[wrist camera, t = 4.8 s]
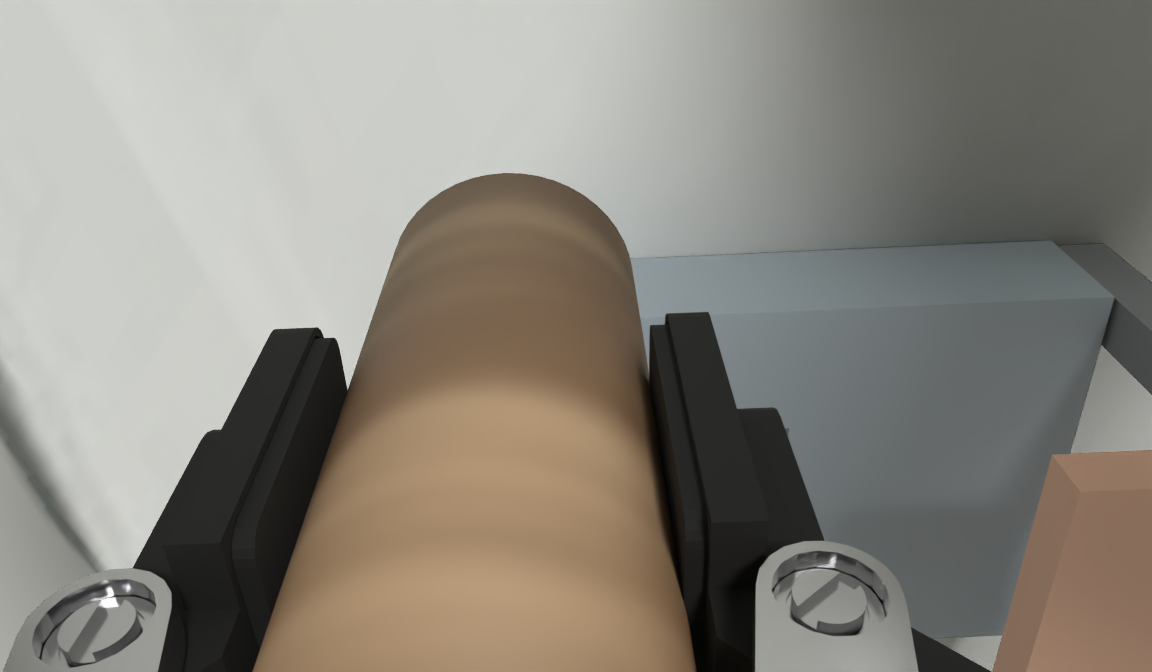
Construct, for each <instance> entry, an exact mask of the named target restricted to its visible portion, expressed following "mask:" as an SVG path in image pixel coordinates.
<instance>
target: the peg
mask: <svg viewBox="0 0 1152 672" xmlns="http://www.w3.org/2000/svg"><path fill="white" fill-rule="evenodd" d="M252 672H697V670H696V664H695V658H694V652H693V645H692V639H691V633H690V627H689V621H688V617H687V613H686V609H685V605H684V601H683V595H682V588H681V582H680V575H679V569H678V563H677V556H676V550H675V544H674V537H673V531H672V524H671V518H670V512H669V505H668V499H667V493H666V486H665V480H664V474H663V467H662V461H661V454H660V448H659V442H658V435H657V429H656V423H655V416H654V410H653V403H652V397H651V391H650V384H649V370H648V364H647V357H646V351H645V345H644V339H643V332H642V326H641V320H640V314H639V307H638V301H637V295H636V288H635V282H634V276H633V270H632V265H631V261H630V256H629V253H628V251H627V248H626V245H625V243H624V240H623V239H622V237H621V235H620V233H619V232H618V230H617V228H616V227H615V225H614V224H613V223H612V221H611V220H610V219H609V218H608V216H607V215H606V214H605V213H604V212H603V211H602V210H601V209H600V208H599V207H598V206H597V205H596V204H594V203H593V202H592V201H590V200H589V199H588V198H586V197H585V196H584V195H582V194H581V193H579V192H577V191H575V190H574V189H572V188H570V187H568V186H566V185H563V184H561V183H558V182H556V181H553V180H550V179H546V178H543V177H539V176H533V175H527V174H514V173H502V174H492V175H485V176H481V177H476V178H472V179H469V180H466V181H464V182H461V183H458V184H456V185H454V186H452V187H450V188H448V189H446V190H444V191H442V192H441V193H439V194H438V195H437V196H435V197H434V198H432V199H431V200H430V201H428V202H427V203H426V204H425V205H424V206H423V207H422V208H421V209H420V210H419V211H418V212H417V213H416V214H415V216H414V217H413V218H412V219H411V221H410V222H409V223H408V225H407V226H406V228H405V230H404V232H403V233H402V235H401V237H400V240H399V242H398V245H397V247H396V250H395V253H394V256H393V259H392V262H391V265H390V268H389V271H388V273H387V276H386V279H385V282H384V285H383V288H382V291H381V294H380V297H379V300H378V303H377V306H376V309H375V312H374V315H373V318H372V321H371V324H370V327H369V329H368V332H367V335H366V338H365V341H364V344H363V347H362V350H361V353H360V356H359V359H358V362H357V365H356V368H355V371H354V374H353V377H352V380H351V382H350V385H349V388H348V391H347V394H346V397H345V400H344V403H343V406H342V409H341V412H340V415H339V418H338V421H337V424H336V427H335V430H334V433H333V436H332V438H331V441H330V444H329V447H328V450H327V453H326V456H325V459H324V462H323V465H322V468H321V471H320V474H319V477H318V480H317V483H316V486H315V489H314V491H313V494H312V497H311V500H310V503H309V506H308V509H307V512H306V515H305V518H304V521H303V524H302V527H301V530H300V533H299V536H298V539H297V542H296V545H295V547H294V550H293V553H292V556H291V559H290V562H289V565H288V568H287V571H286V574H285V577H284V580H283V583H282V586H281V589H280V592H279V595H278V598H277V601H276V603H275V606H274V609H273V612H272V615H271V618H270V621H269V624H268V627H267V630H266V633H265V636H264V639H263V642H262V645H261V648H260V651H259V654H258V656H257V659H256V662H255V665H254V668H253V671H252Z"/></svg>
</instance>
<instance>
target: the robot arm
mask: <svg viewBox="0 0 1152 672" xmlns="http://www.w3.org/2000/svg"><path fill="white" fill-rule="evenodd" d="M649 384H650V391H651V397H652V403H653V410H654V416H655V423H656V429H657V435H658V442H659V448H660V454H661V461H662V467H663V474H664V480H665V486H666V493H667V499H668V505H669V512H670V518H671V524H672V531H673V537H674V544H675V550H676V556H677V563H678V569H679V575H680V582H681V588H682V595H683V601H684V605H685V609H686V613H687V617H688V621H689V627H690V633H691V639H692V645H693V652H694V658H695V664H696V670H697V672H991V671H989V670H987V669H985V668H984V667H982V666H980V665H978V664H976V663H975V662H973V661H971V660H969V659H967V658H966V657H964V656H962V655H960V654H958V653H957V652H955V651H953V650H951V649H949V648H948V647H946V646H944V645H942V644H940V643H939V642H937V641H935V640H933V639H932V638H930V637H928V636H926V635H924V634H923V633H921V632H919V631H917V630H915V629H914V628H912V627H911V626H910V620H909V614H908V609H907V603H906V598H905V596H904V593H903V590H902V588H901V585H900V583H899V581H898V580H897V579H896V577H895V576H894V575H893V574H892V573H891V571H890V570H889V569H888V568H887V567H886V566H885V565H884V564H882V563H881V562H879V561H878V560H877V559H875V558H874V557H872V556H871V555H869V554H868V553H865V552H863V551H861V550H858V549H856V548H853V547H851V546H849V545H845V544H839V543H834V542H829V541H825V540H824V537H823V534H822V532H821V529H820V526H819V523H818V520H817V517H816V515H815V512H814V509H813V506H812V503H811V501H810V498H809V495H808V492H807V489H806V487H805V484H804V481H803V478H802V475H801V472H800V470H799V467H798V464H797V461H796V458H795V456H794V453H793V450H792V447H791V444H790V441H789V439H788V436H787V433H786V430H785V427H784V425H783V422H782V419H781V416H780V414H779V412H778V410H777V409H776V408H774V407H770V408H745V409H737V407H736V403H735V400H734V397H733V393H732V390H731V386H730V383H729V379H728V376H727V372H726V369H725V366H724V362H723V359H722V355H721V352H720V348H719V345H718V341H717V338H716V335H715V331H714V328H713V324H712V321H711V317H710V314H709V312H690V313H666V316H665V324H664V325H650V335H649ZM346 394H347V386H346V381H345V376H344V371H343V365H342V360H341V355H340V350H339V346H338V343H337V340H336V339H335V338H324V337H323V334H322V332H321V330H320V329H319V328H295V329H275V330H273V331H272V333H271V334H270V336H269V338H268V340H267V342H266V344H265V346H264V348H263V349H262V351H261V353H260V355H259V357H258V359H257V361H256V363H255V365H254V367H253V369H252V371H251V373H250V375H249V377H248V379H247V381H246V383H245V385H244V387H243V388H242V390H241V392H240V394H239V396H238V398H237V400H236V402H235V404H234V406H233V408H232V410H231V412H230V414H229V416H228V418H227V420H226V422H225V424H224V426H223V427H222V429H221V430H212V431H210V432H207V433H206V434H205V436H204V437H203V438H202V440H201V441H200V443H199V445H198V447H197V449H196V451H195V453H194V455H193V456H192V458H191V460H190V462H189V464H188V466H187V468H186V469H185V471H184V473H183V475H182V477H181V479H180V481H179V483H178V484H177V486H176V488H175V490H174V492H173V494H172V496H171V497H170V499H169V501H168V503H167V505H166V507H165V509H164V511H163V512H162V514H161V516H160V518H159V520H158V522H157V524H156V526H155V527H154V529H153V531H152V533H151V535H150V537H149V539H148V540H147V542H146V544H145V546H144V548H143V550H142V552H141V554H140V555H139V557H138V559H137V561H136V563H135V565H134V567H133V568H129V569H112V570H107V571H104V572H100V573H96V574H92V575H88V576H86V577H84V578H82V579H79V580H77V581H75V582H73V583H71V584H69V585H67V586H64V587H63V588H61V589H60V590H58V591H57V592H55V593H54V594H52V595H51V596H50V597H48V598H47V599H45V600H44V601H43V602H42V603H41V604H40V605H39V606H38V607H37V608H36V609H35V610H34V611H33V612H32V613H31V614H30V615H29V616H28V617H27V619H26V620H25V622H24V624H23V625H22V627H21V629H20V631H19V632H18V634H17V636H16V639H15V641H14V644H13V646H12V649H11V651H10V654H9V657H8V659H7V662H6V664H5V667H4V669H3V672H252V671H253V668H254V665H255V662H256V659H257V656H258V654H259V651H260V648H261V645H262V642H263V639H264V636H265V633H266V630H267V627H268V624H269V621H270V618H271V615H272V612H273V609H274V606H275V603H276V601H277V598H278V595H279V592H280V589H281V586H282V583H283V580H284V577H285V574H286V571H287V568H288V565H289V562H290V559H291V556H292V553H293V550H294V547H295V545H296V542H297V539H298V536H299V533H300V530H301V527H302V524H303V521H304V518H305V515H306V512H307V509H308V506H309V503H310V500H311V497H312V494H313V491H314V489H315V486H316V483H317V480H318V477H319V474H320V471H321V468H322V465H323V462H324V459H325V456H326V453H327V450H328V447H329V444H330V441H331V438H332V436H333V433H334V430H335V427H336V424H337V421H338V418H339V415H340V412H341V409H342V406H343V403H344V400H345V397H346Z"/></svg>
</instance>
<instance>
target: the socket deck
mask: <svg viewBox="0 0 1152 672" xmlns="http://www.w3.org/2000/svg"><path fill="white" fill-rule="evenodd" d="M630 261H631V265H632V270H633V276H634V282H635V288H636V295H637V301H638V307H639V314H640V320H641V326H642V332H643V339H644V345H645V351H646V357H647V364H648V370H649V335H650V325H664V324H665V316H666V313H690V312H709V314H710V317H711V321H712V324H713V328H714V331H715V335H716V338H717V341H718V345H719V348H720V352H721V355H722V359H723V362H724V366H725V369H726V372H727V376H728V379H729V383H730V386H731V390H732V393H733V397H734V400H735V403H736V407H737V409H745V408H770V407H774V408H776V409H777V410H778V412H779V414H780V416H781V419H782V422H783V425H784V427H785V430H786V433H787V436H788V439H789V441H790V444H791V447H792V450H793V453H794V456H795V458H796V461H797V464H798V467H799V470H800V472H801V475H802V478H803V481H804V484H805V487H806V489H807V492H808V495H809V498H810V501H811V503H812V506H813V509H814V512H815V515H816V517H817V520H818V523H819V526H820V529H821V532H822V534H823V537H824V540H825V541H829V542H834V543H839V544H845V545H849V546H851V547H853V548H856V549H858V550H861V551H863V552H865V553H868V554H869V555H871V556H872V557H874V558H875V559H877V560H878V561H879V562H881V563H882V564H884V565H885V566H886V567H887V568H888V569H889V570H890V571H891V573H892V574H893V575H894V576H895V577H896V579H897V580H898V581H899V583H900V585H901V588H902V590H903V593H904V596H905V598H906V603H907V609H908V614H909V620H910V626H911V627H912V628H914V629H915V630H917V631H919V632H921V633H923V634H924V635H926V636H928V637H930V638H952V637H974V636H995V635H1002V638H1001V642H1000V646H999V649H998V653H997V657H996V660H995V664H994V668H993V671H992V672H1152V450H1144V451H1122V452H1100V453H1078V454H1070V451H1071V448H1072V444H1073V441H1074V437H1075V434H1076V430H1077V427H1078V423H1079V420H1080V417H1081V413H1082V410H1083V406H1084V403H1085V399H1086V396H1087V392H1088V389H1089V385H1090V382H1091V378H1092V375H1093V371H1094V368H1095V364H1096V361H1097V357H1098V354H1099V350H1100V347H1101V345H1102V346H1103V347H1104V348H1105V349H1106V350H1107V351H1108V352H1109V353H1110V354H1111V355H1112V356H1113V357H1114V358H1115V359H1116V360H1117V361H1118V362H1119V363H1120V364H1121V365H1122V366H1123V367H1124V368H1125V369H1126V370H1127V371H1128V372H1129V373H1130V374H1131V375H1132V376H1133V377H1134V378H1136V379H1137V380H1138V381H1139V382H1140V383H1141V384H1142V385H1143V386H1144V387H1145V388H1146V389H1147V390H1148V391H1149V392H1150V393H1151V394H1152V282H1151V281H1150V280H1149V279H1147V278H1146V277H1145V276H1144V275H1142V274H1141V273H1140V272H1139V271H1137V270H1136V269H1135V268H1134V267H1132V266H1131V265H1130V264H1129V263H1127V262H1126V261H1125V260H1124V259H1122V258H1121V257H1120V256H1119V255H1118V254H1116V253H1115V252H1114V251H1113V250H1111V249H1110V248H1109V247H1108V246H1106V245H1105V244H1081V245H1059V246H1057V245H1056V244H1054V243H1053V242H1052V241H1051V240H1047V241H1025V242H1002V243H980V244H957V245H934V246H912V247H889V248H866V249H844V250H821V251H798V252H776V253H753V254H730V255H708V256H685V257H663V258H640V259H630Z"/></svg>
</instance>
